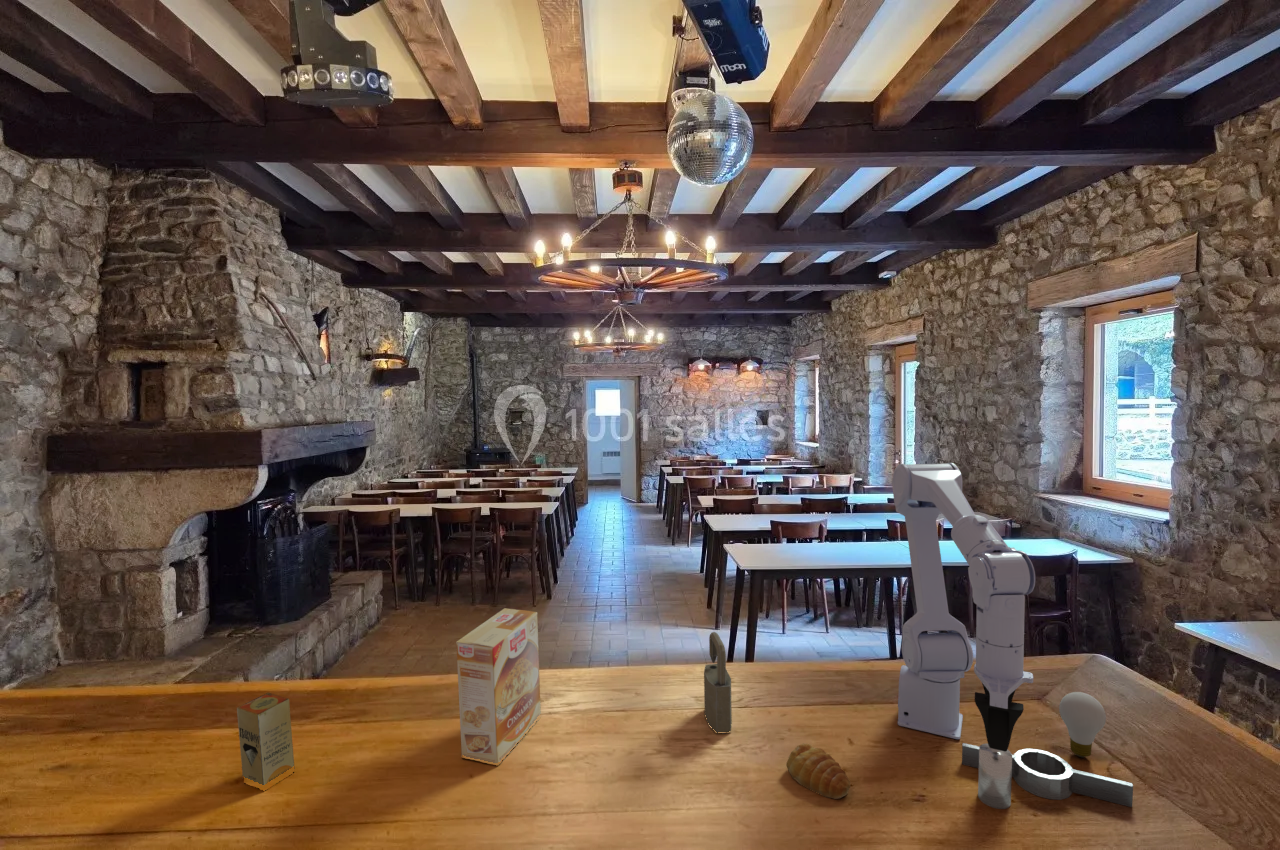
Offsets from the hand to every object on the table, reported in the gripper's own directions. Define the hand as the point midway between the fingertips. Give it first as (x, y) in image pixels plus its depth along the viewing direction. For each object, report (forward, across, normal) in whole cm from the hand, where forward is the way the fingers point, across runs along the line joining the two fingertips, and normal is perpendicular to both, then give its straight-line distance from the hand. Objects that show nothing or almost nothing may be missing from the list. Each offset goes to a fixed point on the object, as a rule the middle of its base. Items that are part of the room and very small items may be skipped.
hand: (998, 734), depth 89 cm
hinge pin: (+10, 0, 0) cm, 10 cm away
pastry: (+10, -6, +23) cm, 26 cm away
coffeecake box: (+10, -20, +72) cm, 76 cm away
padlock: (+9, +1, +42) cm, 43 cm away
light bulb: (+10, +17, -11) cm, 22 cm away
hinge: (+10, +7, -6) cm, 13 cm away
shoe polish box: (+10, -45, +98) cm, 108 cm away
